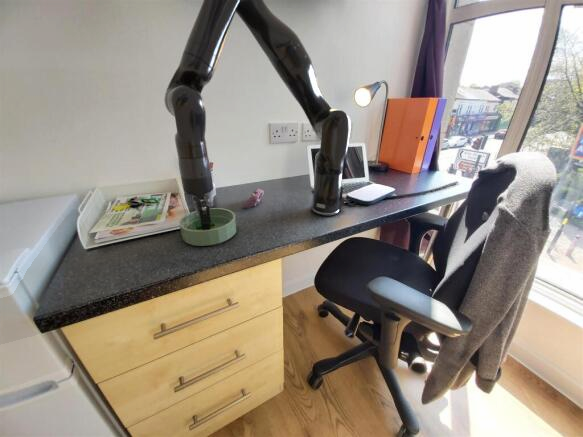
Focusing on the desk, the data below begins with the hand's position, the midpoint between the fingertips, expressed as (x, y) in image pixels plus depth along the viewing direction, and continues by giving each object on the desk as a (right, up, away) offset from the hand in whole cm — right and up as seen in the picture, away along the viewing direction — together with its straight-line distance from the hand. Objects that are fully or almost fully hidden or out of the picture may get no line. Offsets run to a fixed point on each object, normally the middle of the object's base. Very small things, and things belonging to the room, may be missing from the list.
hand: (205, 230), depth 69 cm
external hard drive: (+58, +13, +30) cm, 67 cm away
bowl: (+1, -1, +1) cm, 2 cm away
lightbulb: (-5, +7, +18) cm, 20 cm away
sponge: (0, 0, 0) cm, 0 cm away
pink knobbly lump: (+11, +9, +22) cm, 26 cm away
